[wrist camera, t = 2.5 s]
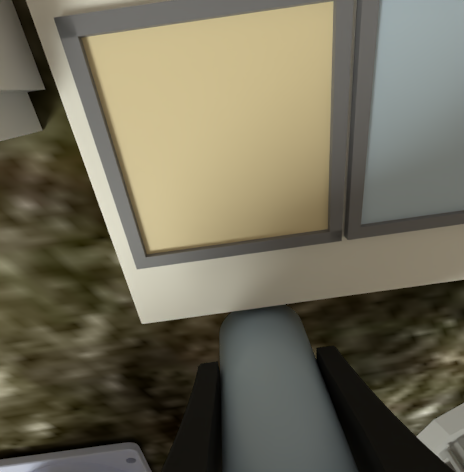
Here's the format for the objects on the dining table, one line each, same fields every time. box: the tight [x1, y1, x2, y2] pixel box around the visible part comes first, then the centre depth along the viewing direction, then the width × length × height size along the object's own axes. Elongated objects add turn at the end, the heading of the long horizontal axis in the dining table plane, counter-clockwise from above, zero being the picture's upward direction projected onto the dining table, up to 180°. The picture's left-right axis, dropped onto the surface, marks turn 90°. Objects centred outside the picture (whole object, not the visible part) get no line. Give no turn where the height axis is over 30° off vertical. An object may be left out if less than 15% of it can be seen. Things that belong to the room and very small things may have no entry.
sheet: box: [26, 0, 464, 324], centre depth 8 cm, size 12×15×1 cm
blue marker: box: [219, 304, 358, 472], centre depth 9 cm, size 4×4×7 cm
